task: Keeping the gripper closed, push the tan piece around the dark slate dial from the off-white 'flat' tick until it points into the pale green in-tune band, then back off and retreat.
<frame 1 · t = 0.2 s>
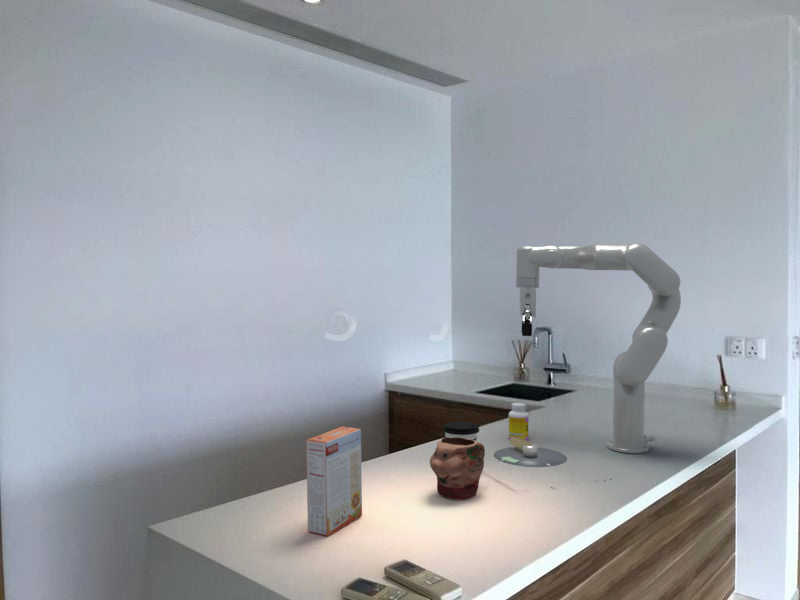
hand: (526, 334, 218), 37 cm above the counter, tool pointing down, fingers open, 9 cm apart
decorative planter: (460, 493, 169), on the counter
dial: (529, 460, 199), on the counter
coffee cup: (460, 465, 194), on the counter
supplement bottle: (518, 442, 220), on the counter
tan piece: (522, 445, 203), point 3 cm above the counter, hinge at 0.0°
cracker box: (335, 525, 148), on the counter
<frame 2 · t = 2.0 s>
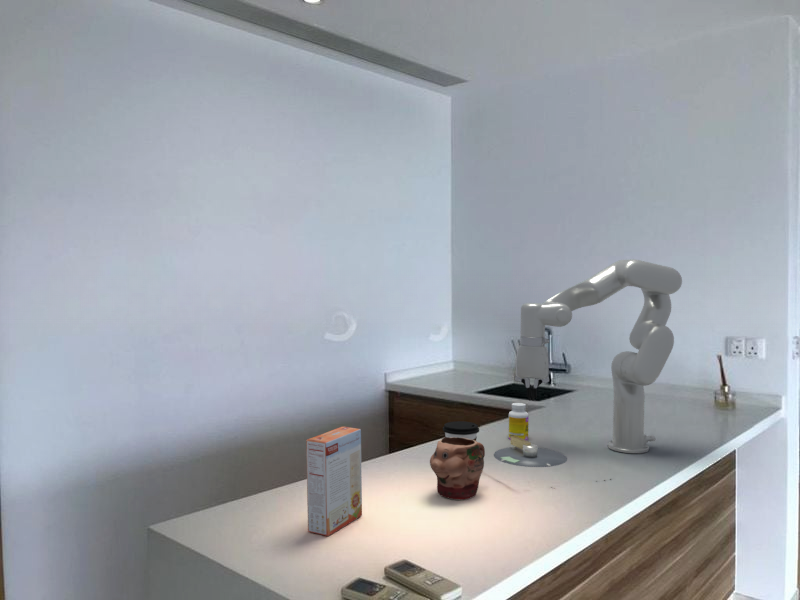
hand: (531, 399, 206), 17 cm above the counter, tool pointing down, fingers closed
nothing on the counter moved.
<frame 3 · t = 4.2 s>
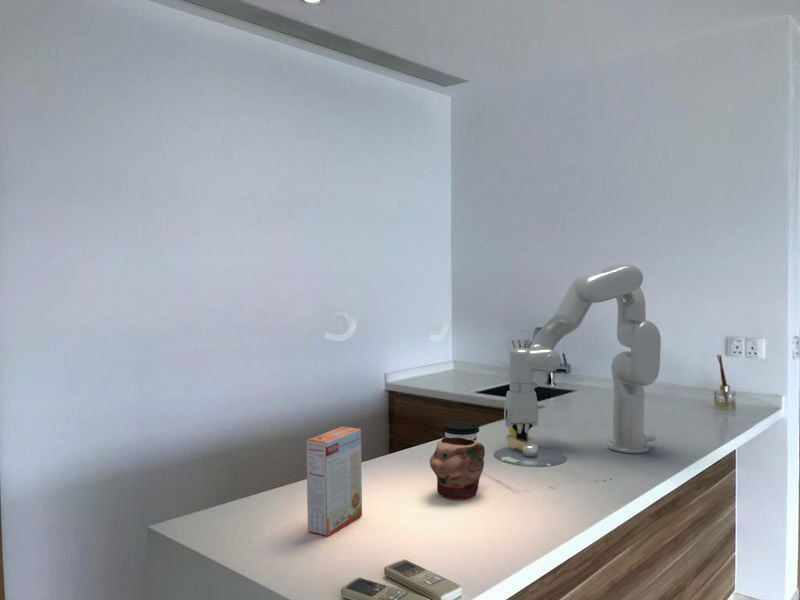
hand: (521, 444, 207), 3 cm above the counter, tool pointing down, fingers closed
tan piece: (521, 446, 203), point 3 cm above the counter, hinge at 7.0°, touching gripper
everything else where it was.
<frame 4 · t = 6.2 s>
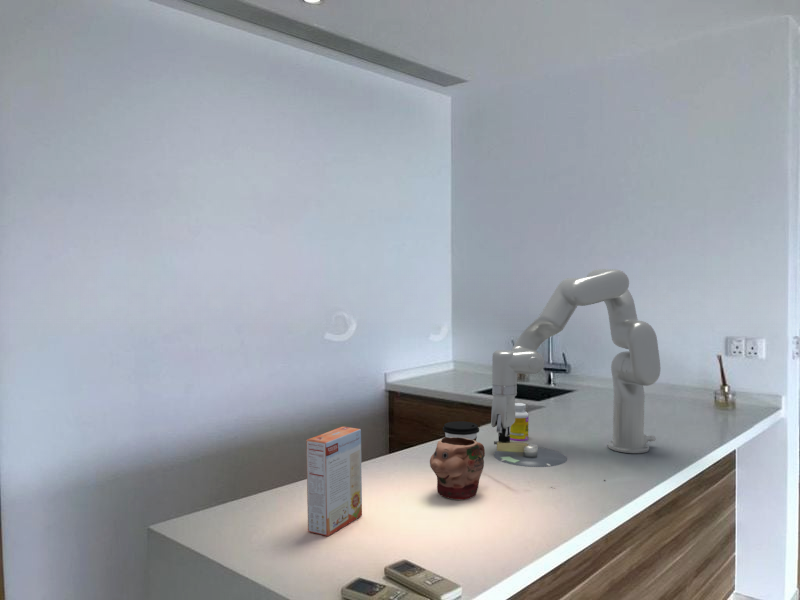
hand: (504, 448, 203), 2 cm above the counter, tool pointing down, fingers closed
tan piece: (515, 448, 200), point 3 cm above the counter, hinge at 57.9°, touching gripper
everything else where it was.
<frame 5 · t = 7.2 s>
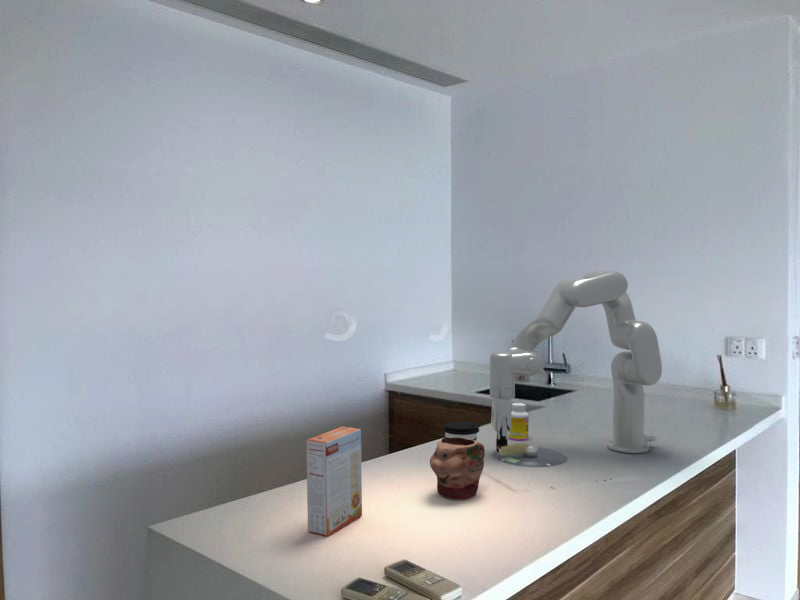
hand: (501, 451, 200), 2 cm above the counter, tool pointing down, fingers closed
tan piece: (517, 450, 198), point 3 cm above the counter, hinge at 85.3°, touching gripper
everything else where it was.
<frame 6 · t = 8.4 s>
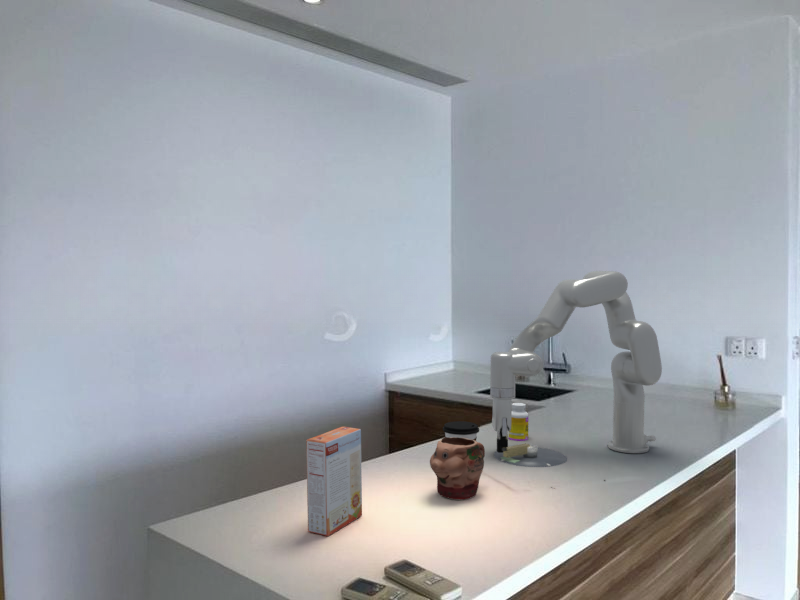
hand: (502, 451, 200), 2 cm above the counter, tool pointing down, fingers closed
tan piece: (519, 451, 196), point 3 cm above the counter, hinge at 101.6°
everything else where it was.
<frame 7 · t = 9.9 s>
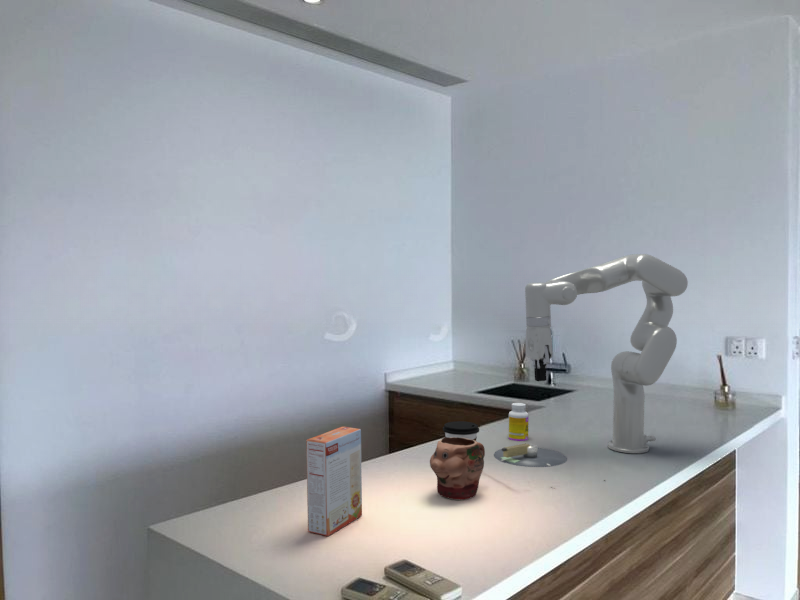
hand: (540, 380, 204), 23 cm above the counter, tool pointing down, fingers closed
nothing on the counter moved.
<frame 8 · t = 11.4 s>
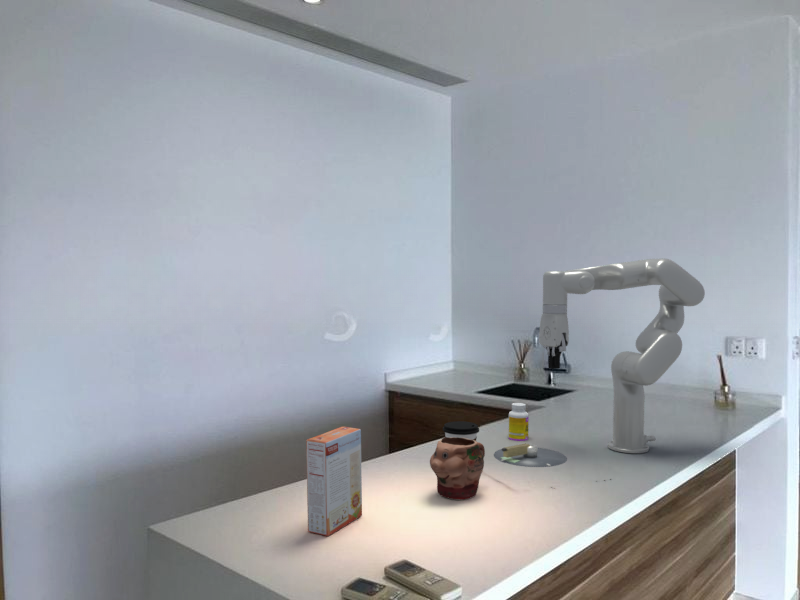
hand: (554, 368, 205), 27 cm above the counter, tool pointing down, fingers closed
nothing on the counter moved.
at the end: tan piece at +102° (first picture: +0°); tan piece touching nothing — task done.
